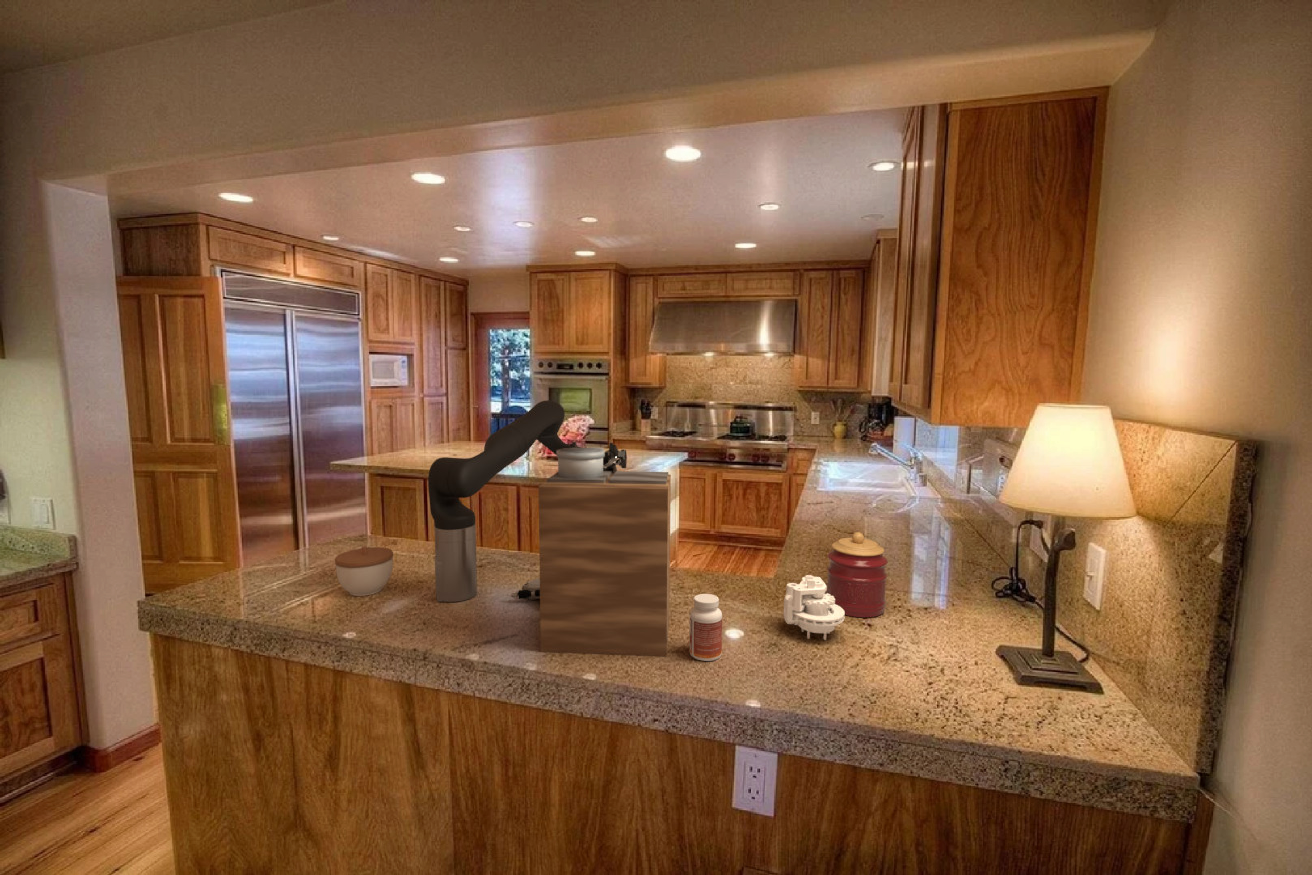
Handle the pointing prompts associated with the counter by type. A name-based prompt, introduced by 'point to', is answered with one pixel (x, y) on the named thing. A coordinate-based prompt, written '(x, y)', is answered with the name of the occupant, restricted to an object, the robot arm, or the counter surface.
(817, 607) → the mechanical part
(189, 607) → the counter surface
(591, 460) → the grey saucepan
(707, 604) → the pill bottle
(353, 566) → the lidded bowl
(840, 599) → the canister
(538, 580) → the robot toy
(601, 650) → the wooden box
